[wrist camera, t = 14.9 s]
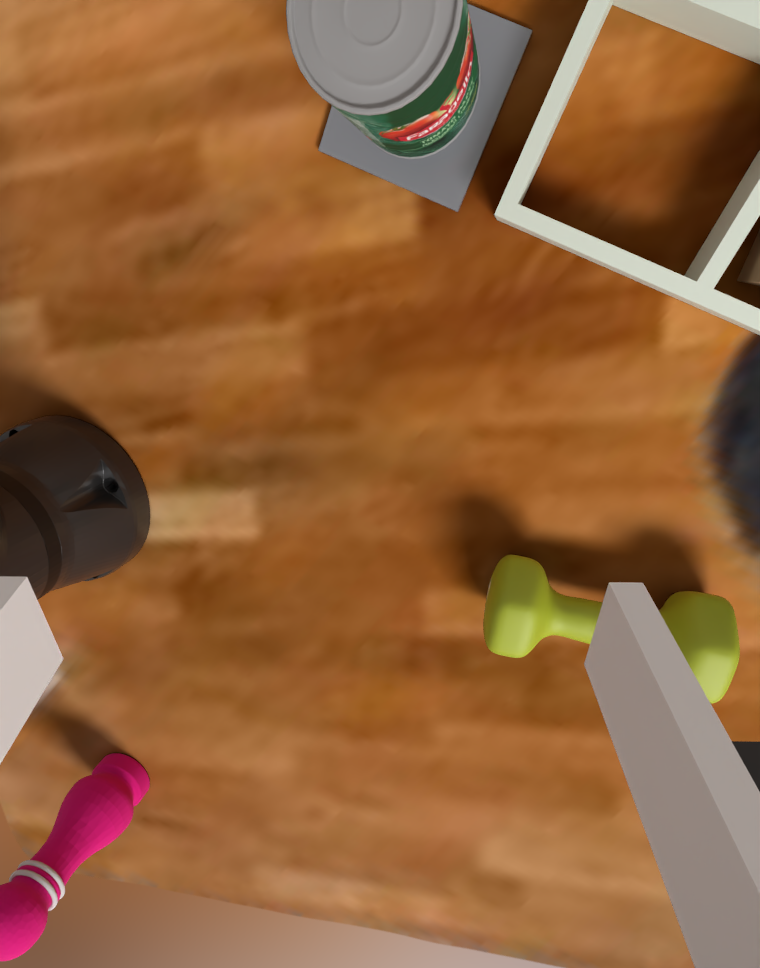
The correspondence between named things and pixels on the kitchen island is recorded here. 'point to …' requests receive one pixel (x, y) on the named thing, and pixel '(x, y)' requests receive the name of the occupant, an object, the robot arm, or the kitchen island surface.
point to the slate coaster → (457, 163)
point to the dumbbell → (543, 612)
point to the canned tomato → (391, 67)
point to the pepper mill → (69, 848)
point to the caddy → (754, 36)
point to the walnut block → (752, 265)
